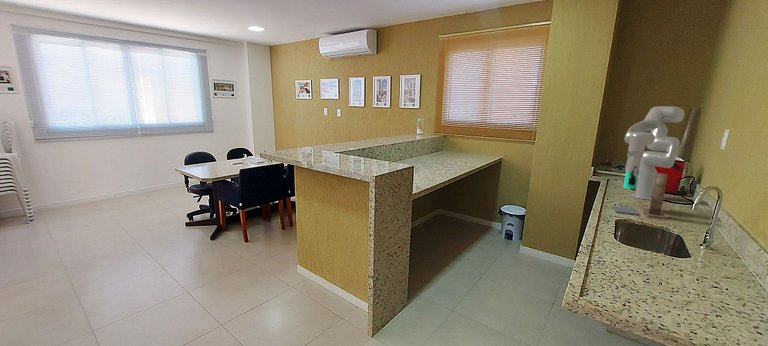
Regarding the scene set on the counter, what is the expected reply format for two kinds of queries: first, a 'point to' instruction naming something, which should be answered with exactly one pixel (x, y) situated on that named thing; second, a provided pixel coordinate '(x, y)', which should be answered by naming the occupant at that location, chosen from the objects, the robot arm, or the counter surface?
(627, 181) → the candle
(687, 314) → the counter surface
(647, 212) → the post
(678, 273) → the counter surface
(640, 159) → the robot arm
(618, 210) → the mat
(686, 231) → the counter surface
